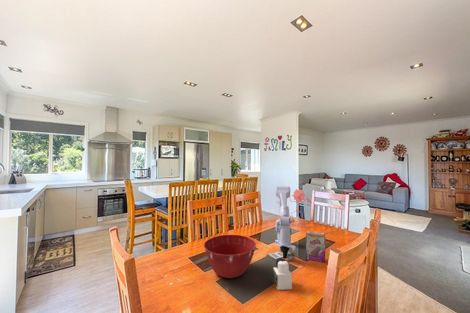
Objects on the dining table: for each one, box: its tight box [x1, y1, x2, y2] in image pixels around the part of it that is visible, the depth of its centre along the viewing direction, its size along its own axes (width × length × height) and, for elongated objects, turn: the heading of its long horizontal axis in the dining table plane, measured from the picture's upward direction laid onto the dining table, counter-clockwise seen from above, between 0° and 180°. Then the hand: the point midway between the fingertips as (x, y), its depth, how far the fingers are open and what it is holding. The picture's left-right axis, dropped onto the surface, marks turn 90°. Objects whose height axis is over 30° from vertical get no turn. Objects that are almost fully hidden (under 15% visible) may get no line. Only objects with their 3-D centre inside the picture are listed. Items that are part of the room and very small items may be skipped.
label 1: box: [268, 252, 281, 259], centre depth 132 cm, size 4×7×1 cm, turn 30°
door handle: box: [286, 250, 294, 261], centre depth 132 cm, size 14×4×3 cm, turn 2°
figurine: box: [287, 188, 312, 227], centre depth 204 cm, size 15×26×35 cm, turn 51°
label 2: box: [273, 251, 283, 259], centre depth 135 cm, size 4×7×1 cm, turn 30°
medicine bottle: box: [272, 258, 293, 291], centre depth 101 cm, size 7×7×12 cm
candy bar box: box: [305, 231, 326, 263], centre depth 129 cm, size 11×5×16 cm, turn 71°
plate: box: [266, 251, 284, 261], centre depth 133 cm, size 10×9×1 cm
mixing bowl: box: [203, 234, 257, 279], centre depth 114 cm, size 28×28×15 cm
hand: (285, 258), depth 127 cm, fingers closed, pressing on door handle
